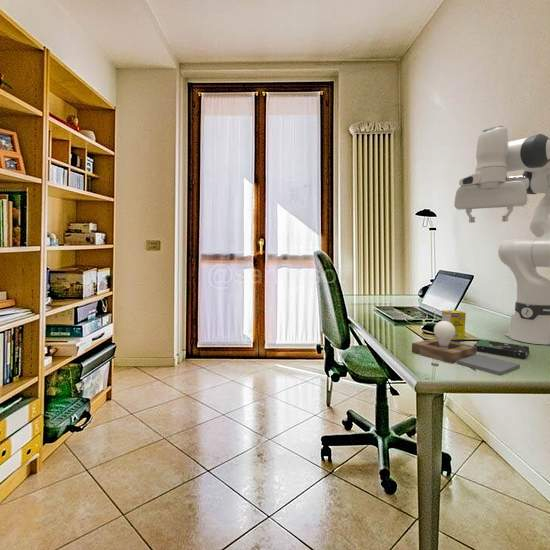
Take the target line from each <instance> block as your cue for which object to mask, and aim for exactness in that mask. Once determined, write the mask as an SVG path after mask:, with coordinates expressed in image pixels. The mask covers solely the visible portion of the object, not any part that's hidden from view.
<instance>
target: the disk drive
mask: <svg viewBox="0 0 550 550" xmlns="http://www.w3.org/2000/svg"><path fill="white" fill-rule="evenodd" d="M473 346H475V347H477V350H476V353H477V352H478V353H483V354H488V355H489V354H490V355H496V356H501V357H506V358H507V357H509V358H514V359H519V360H524V359H525V360H526V359H527V357H528V355H529V353H530V346H529V345H527V346H526V345H522V344H514V343H507V342H500V341H494V340H487V339H481V338H480V339H478V340H477V341H476V343H474V344H473Z"/></svg>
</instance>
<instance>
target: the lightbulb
mask: <svg viewBox="0 0 550 550" xmlns="http://www.w3.org/2000/svg"><path fill="white" fill-rule="evenodd" d="M433 333H434V335H435V338H437V339H438V343H439V347H440V348H444V349H448V345H449V344H450V341H451V339H452V338H453V337H454V335H455V327H454V326H453V324H451V323H450V322H448V321H442V320H440V321H438V322H437V323H436V324H435V325H434V326H433Z"/></svg>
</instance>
